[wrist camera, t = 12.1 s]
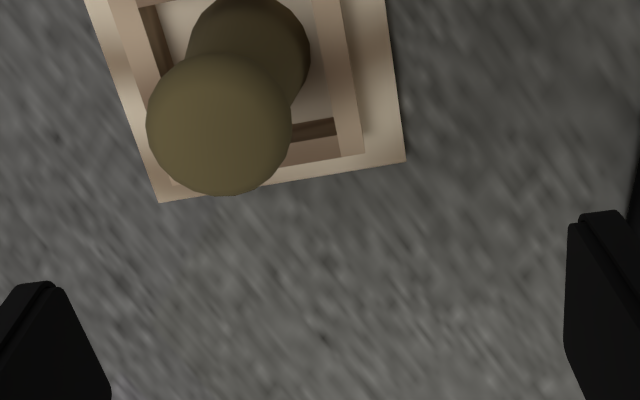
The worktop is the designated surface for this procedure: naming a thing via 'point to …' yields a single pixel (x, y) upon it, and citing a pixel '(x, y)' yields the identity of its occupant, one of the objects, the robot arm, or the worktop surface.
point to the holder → (308, 107)
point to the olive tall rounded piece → (230, 98)
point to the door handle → (635, 205)
